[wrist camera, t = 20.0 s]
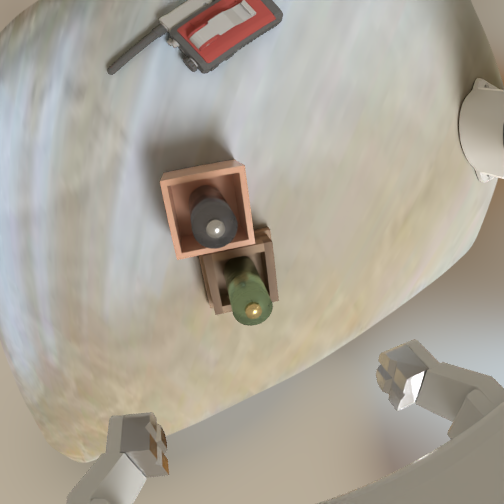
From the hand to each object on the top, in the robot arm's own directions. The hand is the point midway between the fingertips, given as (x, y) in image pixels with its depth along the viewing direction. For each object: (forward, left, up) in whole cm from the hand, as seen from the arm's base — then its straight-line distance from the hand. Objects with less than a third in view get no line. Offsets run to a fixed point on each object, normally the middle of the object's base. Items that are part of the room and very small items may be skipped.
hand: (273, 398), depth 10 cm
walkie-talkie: (-2, -19, -30) cm, 35 cm away
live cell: (-3, +9, -28) cm, 30 cm away
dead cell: (0, 0, -28) cm, 28 cm away
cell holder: (-3, +9, -29) cm, 31 cm away
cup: (0, 0, -29) cm, 29 cm away
